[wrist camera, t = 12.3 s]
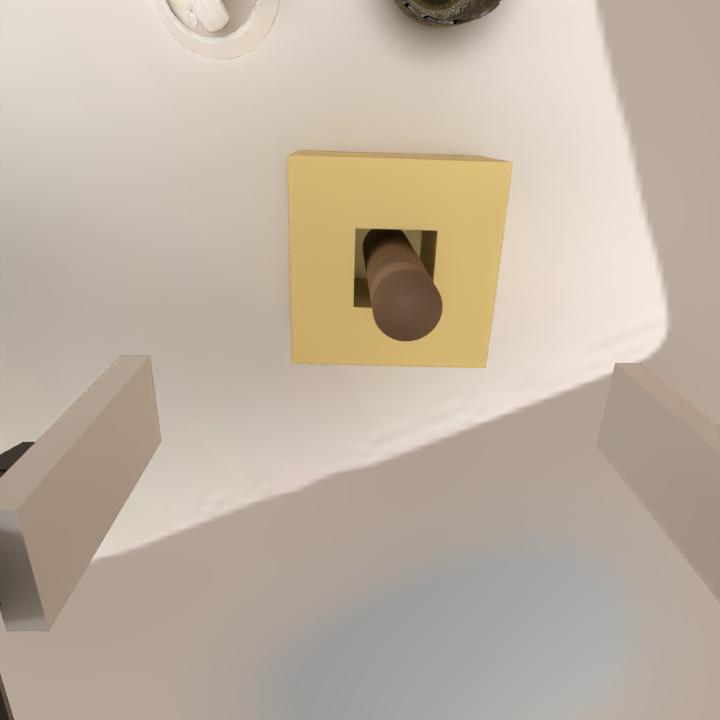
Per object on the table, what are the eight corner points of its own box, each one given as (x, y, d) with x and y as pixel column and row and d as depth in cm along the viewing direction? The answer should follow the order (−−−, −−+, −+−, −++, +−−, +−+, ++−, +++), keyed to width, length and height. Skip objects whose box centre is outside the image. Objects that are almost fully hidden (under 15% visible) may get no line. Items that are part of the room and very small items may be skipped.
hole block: (302, 321, 41) (291, 363, 33) (301, 150, 36) (287, 155, 29) (461, 325, 41) (485, 368, 34) (480, 156, 36) (512, 162, 29)
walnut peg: (361, 269, 38) (371, 341, 25) (363, 223, 37) (373, 273, 24) (407, 270, 38) (439, 341, 25) (409, 224, 37) (445, 275, 24)
